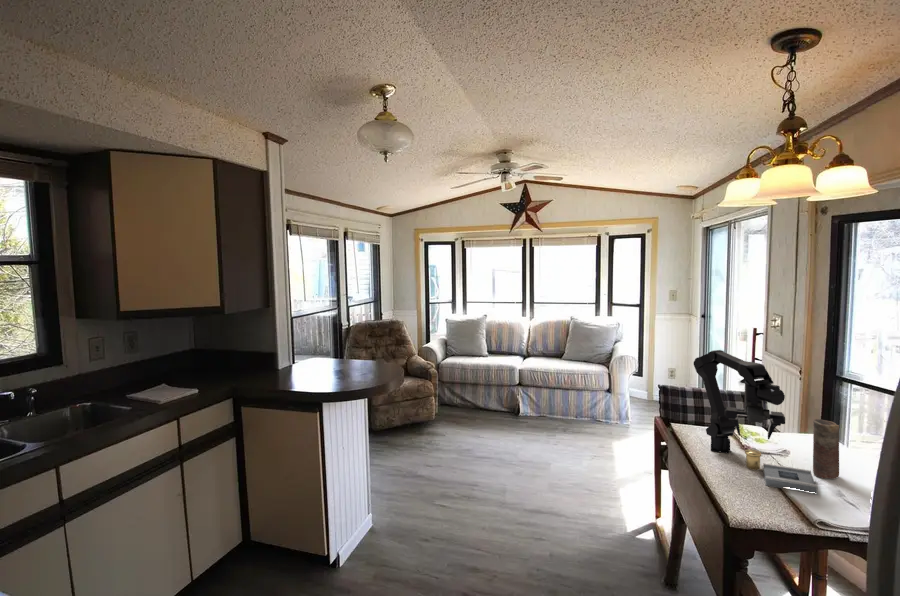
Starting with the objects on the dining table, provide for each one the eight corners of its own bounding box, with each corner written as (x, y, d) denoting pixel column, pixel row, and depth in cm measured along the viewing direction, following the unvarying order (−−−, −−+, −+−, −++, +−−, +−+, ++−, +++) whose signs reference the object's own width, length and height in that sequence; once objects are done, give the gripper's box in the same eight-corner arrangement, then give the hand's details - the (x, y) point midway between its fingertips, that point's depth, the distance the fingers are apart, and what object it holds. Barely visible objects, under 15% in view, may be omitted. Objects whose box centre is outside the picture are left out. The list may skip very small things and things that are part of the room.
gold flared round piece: (745, 469, 171) (745, 453, 170) (744, 463, 175) (744, 448, 175) (761, 471, 168) (761, 456, 168) (760, 466, 172) (760, 450, 172)
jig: (765, 485, 158) (765, 477, 158) (763, 471, 168) (763, 463, 168) (816, 494, 151) (816, 485, 151) (810, 478, 161) (810, 470, 161)
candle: (814, 468, 168) (814, 416, 166) (840, 474, 163) (841, 421, 161) (811, 476, 163) (811, 422, 161) (837, 482, 157) (838, 427, 156)
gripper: (725, 400, 167) (725, 441, 168) (787, 406, 158) (787, 449, 159) (724, 392, 177) (724, 430, 178) (783, 397, 167) (783, 437, 169)
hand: (753, 437), depth 171 cm, fingers open, 9 cm apart
